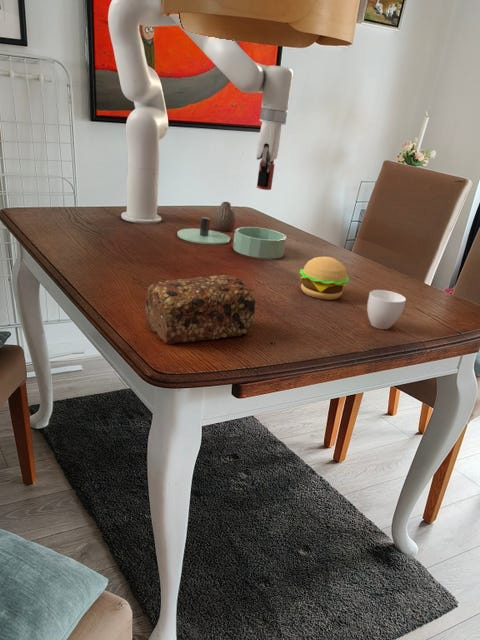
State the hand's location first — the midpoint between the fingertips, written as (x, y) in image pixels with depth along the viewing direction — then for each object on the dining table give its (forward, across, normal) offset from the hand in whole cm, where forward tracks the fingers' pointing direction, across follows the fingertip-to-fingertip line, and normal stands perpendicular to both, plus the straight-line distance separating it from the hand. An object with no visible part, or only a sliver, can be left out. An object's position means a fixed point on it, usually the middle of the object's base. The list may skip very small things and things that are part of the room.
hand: (264, 184), depth 174 cm
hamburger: (+16, +44, +25) cm, 53 cm away
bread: (+16, +82, +5) cm, 84 cm away
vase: (+16, -2, -11) cm, 20 cm away
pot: (+16, +17, +4) cm, 23 cm away
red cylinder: (+1, 0, 0) cm, 1 cm away
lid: (+15, +13, -14) cm, 24 cm away
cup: (+16, +58, +39) cm, 72 cm away
